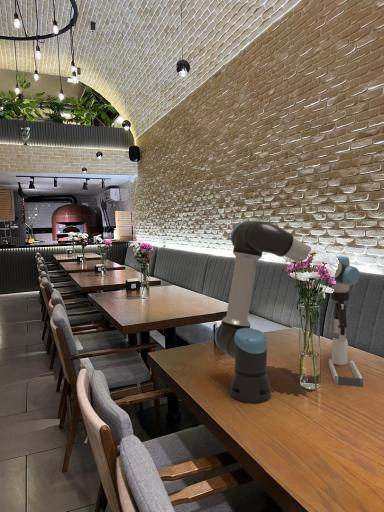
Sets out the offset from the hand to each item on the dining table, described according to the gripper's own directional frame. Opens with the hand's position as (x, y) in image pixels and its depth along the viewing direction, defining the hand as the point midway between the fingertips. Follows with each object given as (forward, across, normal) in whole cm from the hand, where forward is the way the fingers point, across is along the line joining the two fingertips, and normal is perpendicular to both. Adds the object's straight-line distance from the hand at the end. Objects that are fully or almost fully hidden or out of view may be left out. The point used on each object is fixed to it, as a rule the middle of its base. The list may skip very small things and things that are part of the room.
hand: (339, 337), depth 172 cm
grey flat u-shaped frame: (+11, -16, 0) cm, 20 cm away
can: (+12, -2, 0) cm, 12 cm away
